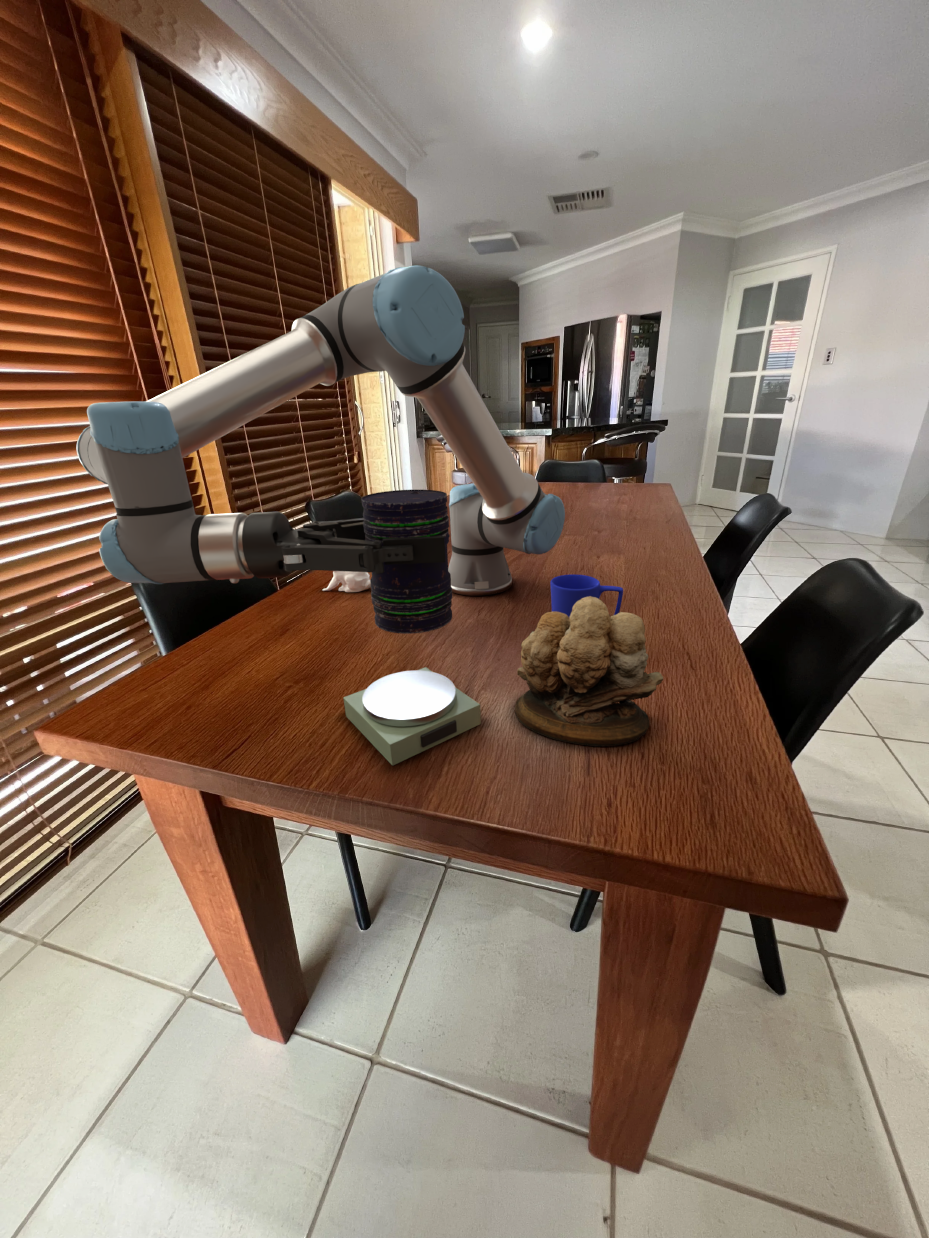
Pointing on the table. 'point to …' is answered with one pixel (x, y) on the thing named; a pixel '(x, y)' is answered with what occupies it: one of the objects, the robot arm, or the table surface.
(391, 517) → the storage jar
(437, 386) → the robot arm
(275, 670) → the table surface
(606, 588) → the mug
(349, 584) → the rabbit figurine
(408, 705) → the weighing pan
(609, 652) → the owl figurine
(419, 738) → the scale
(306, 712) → the table surface
